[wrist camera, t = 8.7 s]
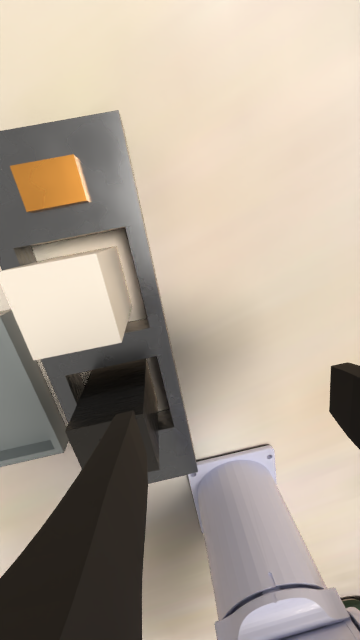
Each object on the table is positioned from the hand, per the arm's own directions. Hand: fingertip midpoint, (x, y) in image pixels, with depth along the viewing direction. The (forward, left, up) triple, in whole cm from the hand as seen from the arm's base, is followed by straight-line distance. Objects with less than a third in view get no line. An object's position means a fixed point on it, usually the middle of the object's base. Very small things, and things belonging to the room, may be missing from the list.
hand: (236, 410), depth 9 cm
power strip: (0, +6, -9) cm, 11 cm away
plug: (+4, +6, -10) cm, 12 cm away
